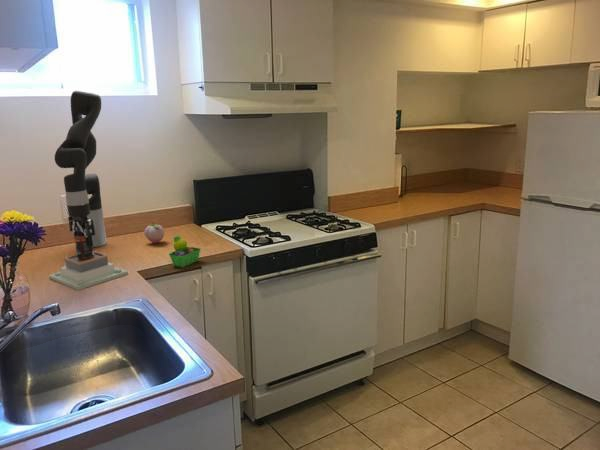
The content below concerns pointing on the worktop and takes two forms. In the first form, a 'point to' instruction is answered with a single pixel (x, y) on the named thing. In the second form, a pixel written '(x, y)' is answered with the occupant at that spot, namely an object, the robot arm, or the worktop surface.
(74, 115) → the robot arm
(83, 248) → the supplement bottle
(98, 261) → the stacked grey pedestal
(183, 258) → the fruit basket
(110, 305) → the worktop surface
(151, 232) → the decorative fruit
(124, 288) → the worktop surface
